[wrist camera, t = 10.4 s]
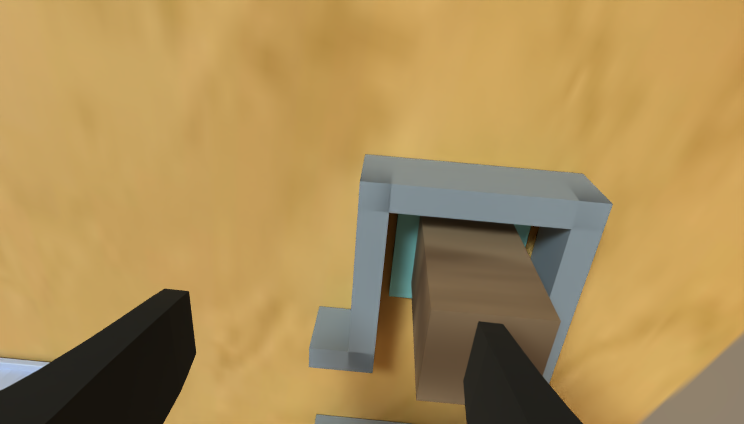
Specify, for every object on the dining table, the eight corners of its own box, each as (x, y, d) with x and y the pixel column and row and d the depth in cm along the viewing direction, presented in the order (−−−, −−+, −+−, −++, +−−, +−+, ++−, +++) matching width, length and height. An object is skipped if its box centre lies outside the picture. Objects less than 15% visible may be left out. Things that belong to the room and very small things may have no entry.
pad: (507, 303, 22) (509, 307, 22) (389, 292, 23) (389, 295, 22) (536, 195, 20) (538, 198, 20) (401, 183, 20) (401, 186, 20)
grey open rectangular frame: (498, 445, 27) (509, 495, 25) (316, 427, 27) (307, 475, 25) (582, 173, 19) (612, 203, 17) (324, 150, 19) (312, 176, 17)
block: (492, 289, 22) (530, 410, 16) (411, 282, 22) (416, 400, 16) (510, 216, 20) (561, 321, 14) (420, 209, 20) (430, 309, 14)
